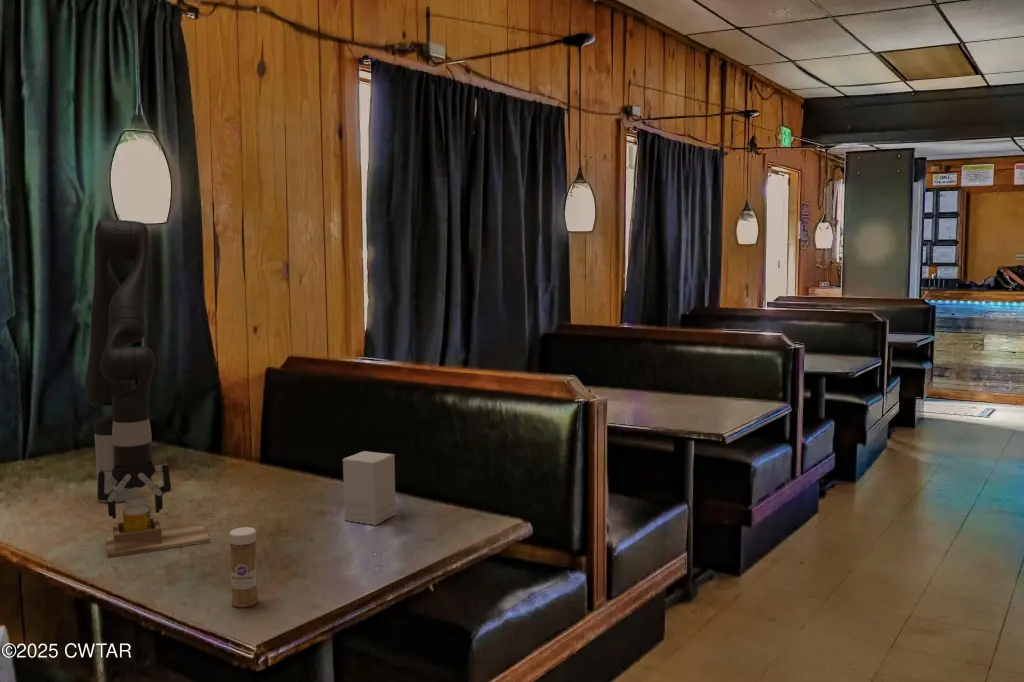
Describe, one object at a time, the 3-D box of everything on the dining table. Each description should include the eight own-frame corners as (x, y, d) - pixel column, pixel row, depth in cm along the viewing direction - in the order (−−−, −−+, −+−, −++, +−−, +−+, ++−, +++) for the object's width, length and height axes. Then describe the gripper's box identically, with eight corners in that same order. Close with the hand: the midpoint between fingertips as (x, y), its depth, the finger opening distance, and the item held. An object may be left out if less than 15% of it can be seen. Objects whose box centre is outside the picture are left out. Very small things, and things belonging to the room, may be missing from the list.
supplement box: (397, 515, 202) (396, 453, 201) (375, 526, 194) (374, 462, 193) (365, 510, 206) (364, 449, 204) (343, 521, 198) (341, 458, 196)
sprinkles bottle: (232, 610, 149) (229, 536, 148) (231, 600, 154) (228, 528, 152) (259, 606, 151) (257, 532, 150) (257, 596, 155) (255, 525, 154)
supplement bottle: (124, 538, 184) (121, 495, 183) (151, 534, 186) (148, 492, 185) (124, 546, 179) (122, 502, 178) (152, 542, 181) (150, 498, 180)
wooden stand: (105, 540, 185) (104, 522, 185) (202, 526, 194) (201, 509, 194) (107, 557, 175) (106, 539, 174) (210, 542, 184) (209, 524, 183)
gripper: (166, 433, 187) (169, 505, 188) (94, 440, 180) (98, 514, 182) (170, 440, 180) (173, 515, 182) (95, 448, 174) (99, 524, 175)
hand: (135, 514), depth 182 cm, fingers open, 8 cm apart
